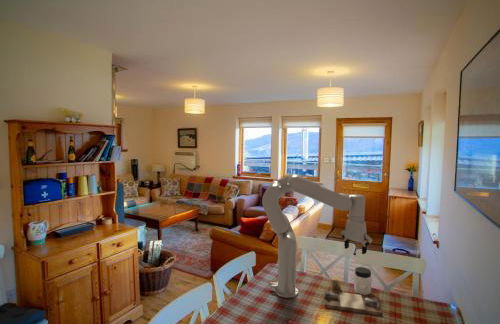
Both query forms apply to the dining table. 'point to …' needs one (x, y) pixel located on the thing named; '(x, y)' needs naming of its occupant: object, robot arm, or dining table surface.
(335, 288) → the brass coupler
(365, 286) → the jar
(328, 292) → the coupling jig
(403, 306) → the dining table surface
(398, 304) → the dining table surface
